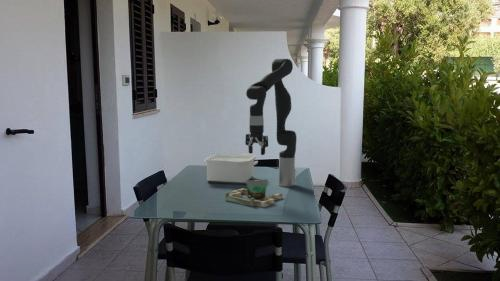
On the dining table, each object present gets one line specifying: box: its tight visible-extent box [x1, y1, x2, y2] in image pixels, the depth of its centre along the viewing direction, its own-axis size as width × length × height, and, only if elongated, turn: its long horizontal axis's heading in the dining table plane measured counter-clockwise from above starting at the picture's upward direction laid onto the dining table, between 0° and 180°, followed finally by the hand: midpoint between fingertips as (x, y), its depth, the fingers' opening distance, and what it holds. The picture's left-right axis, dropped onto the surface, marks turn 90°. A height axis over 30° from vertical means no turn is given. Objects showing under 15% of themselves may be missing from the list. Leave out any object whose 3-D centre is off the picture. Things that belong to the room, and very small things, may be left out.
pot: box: [203, 153, 259, 185], centre depth 289 cm, size 34×29×15 cm
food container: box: [245, 177, 269, 200], centre depth 243 cm, size 12×6×10 cm, turn 105°
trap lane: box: [224, 188, 283, 208], centre depth 241 cm, size 24×28×4 cm
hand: (256, 154), depth 245 cm, fingers open, 8 cm apart
